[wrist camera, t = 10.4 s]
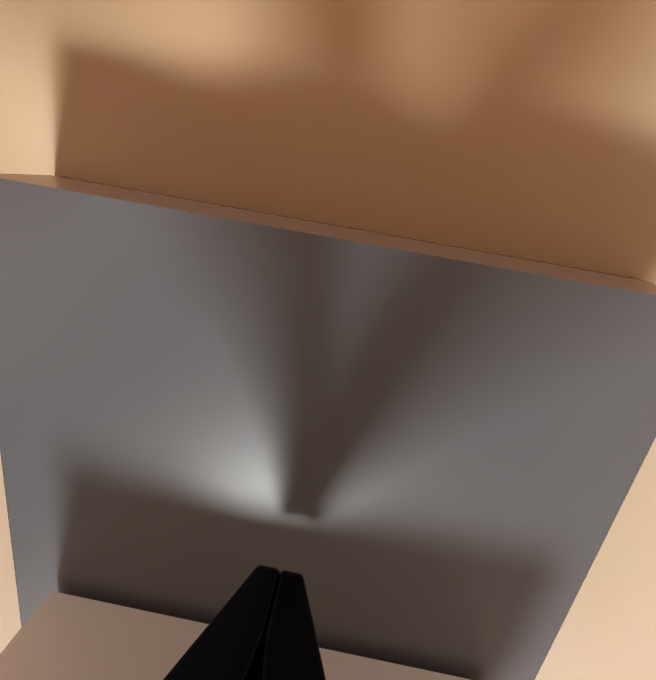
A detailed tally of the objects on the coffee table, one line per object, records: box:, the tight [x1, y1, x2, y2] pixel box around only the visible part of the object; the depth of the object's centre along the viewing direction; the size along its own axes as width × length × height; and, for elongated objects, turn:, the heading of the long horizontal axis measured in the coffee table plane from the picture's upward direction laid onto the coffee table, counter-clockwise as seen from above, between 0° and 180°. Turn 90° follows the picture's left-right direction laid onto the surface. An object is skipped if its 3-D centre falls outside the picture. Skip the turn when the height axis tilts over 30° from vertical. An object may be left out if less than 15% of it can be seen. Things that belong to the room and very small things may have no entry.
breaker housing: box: [0, 174, 656, 680], centre depth 10 cm, size 12×12×2 cm
